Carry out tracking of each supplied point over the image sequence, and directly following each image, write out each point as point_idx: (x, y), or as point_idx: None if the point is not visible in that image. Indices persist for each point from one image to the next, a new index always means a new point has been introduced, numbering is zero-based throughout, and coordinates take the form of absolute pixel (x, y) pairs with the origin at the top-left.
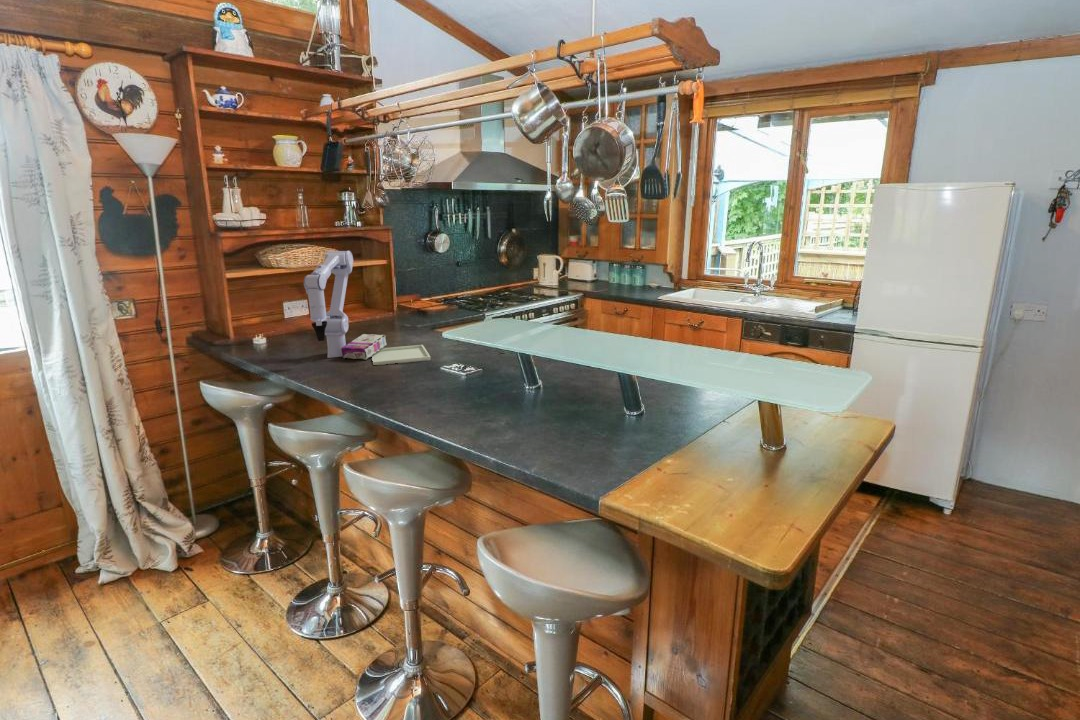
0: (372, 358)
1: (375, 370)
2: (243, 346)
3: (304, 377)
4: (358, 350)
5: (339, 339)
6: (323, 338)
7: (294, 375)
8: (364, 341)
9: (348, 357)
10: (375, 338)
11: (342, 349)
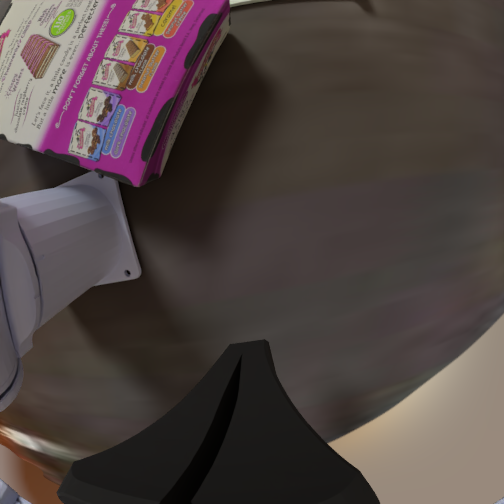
0: None
1: (435, 4)
2: (64, 468)
3: (480, 301)
4: (208, 42)
5: (45, 224)
6: (269, 357)
7: (439, 349)
8: (63, 45)
9: (174, 139)
10: (44, 4)
11: (147, 174)
